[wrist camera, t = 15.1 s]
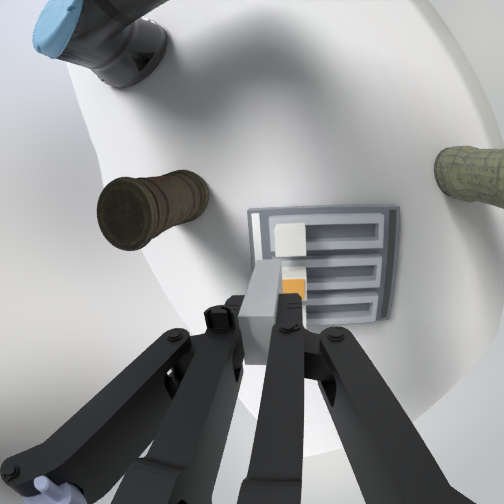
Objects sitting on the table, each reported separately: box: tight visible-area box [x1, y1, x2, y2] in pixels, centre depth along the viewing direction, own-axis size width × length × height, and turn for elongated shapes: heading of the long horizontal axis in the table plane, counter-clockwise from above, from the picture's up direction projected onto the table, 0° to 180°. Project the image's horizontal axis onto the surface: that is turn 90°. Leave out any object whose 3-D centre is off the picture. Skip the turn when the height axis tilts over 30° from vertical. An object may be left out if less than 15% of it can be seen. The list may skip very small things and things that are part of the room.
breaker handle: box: [282, 266, 307, 301], centre depth 40 cm, size 4×4×7 cm
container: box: [97, 170, 208, 251], centre depth 36 cm, size 9×9×18 cm
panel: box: [247, 205, 400, 329], centre depth 40 cm, size 20×24×9 cm
